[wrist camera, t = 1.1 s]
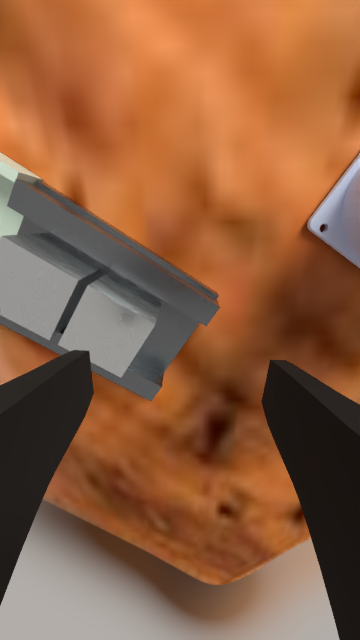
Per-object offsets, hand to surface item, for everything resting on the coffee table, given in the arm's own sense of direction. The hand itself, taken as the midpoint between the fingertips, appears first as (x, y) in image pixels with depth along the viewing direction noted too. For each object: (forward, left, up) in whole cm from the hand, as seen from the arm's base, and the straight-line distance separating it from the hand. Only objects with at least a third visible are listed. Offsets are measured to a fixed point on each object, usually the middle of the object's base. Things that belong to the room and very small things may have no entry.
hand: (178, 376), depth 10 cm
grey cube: (+3, +2, -8) cm, 9 cm away
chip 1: (+8, +2, -8) cm, 11 cm away
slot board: (+5, +2, -9) cm, 10 cm away
